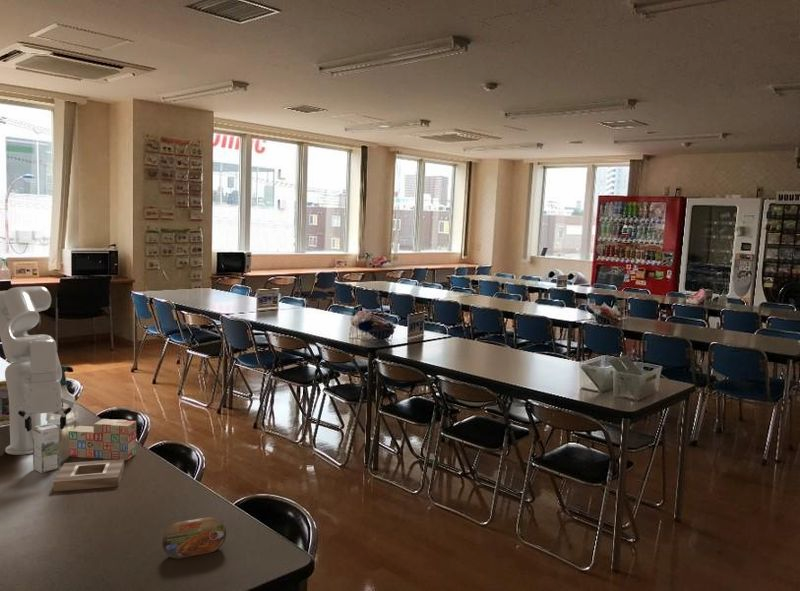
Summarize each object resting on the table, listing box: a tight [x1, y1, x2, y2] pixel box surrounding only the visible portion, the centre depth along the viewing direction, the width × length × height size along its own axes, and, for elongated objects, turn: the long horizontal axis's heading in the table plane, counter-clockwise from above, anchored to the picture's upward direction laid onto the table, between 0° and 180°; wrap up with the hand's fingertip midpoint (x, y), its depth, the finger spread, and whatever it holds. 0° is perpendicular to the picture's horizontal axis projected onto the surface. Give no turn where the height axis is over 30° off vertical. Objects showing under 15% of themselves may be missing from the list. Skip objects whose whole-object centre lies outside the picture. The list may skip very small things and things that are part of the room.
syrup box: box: [32, 422, 60, 474], centre depth 212 cm, size 6×6×14 cm
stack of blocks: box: [68, 418, 137, 461], centre depth 226 cm, size 21×6×12 cm, turn 85°
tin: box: [161, 516, 227, 559], centre depth 161 cm, size 15×3×8 cm, turn 114°
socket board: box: [52, 459, 125, 492], centre depth 205 cm, size 16×18×3 cm
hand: (46, 429), depth 211 cm, fingers open, 9 cm apart
